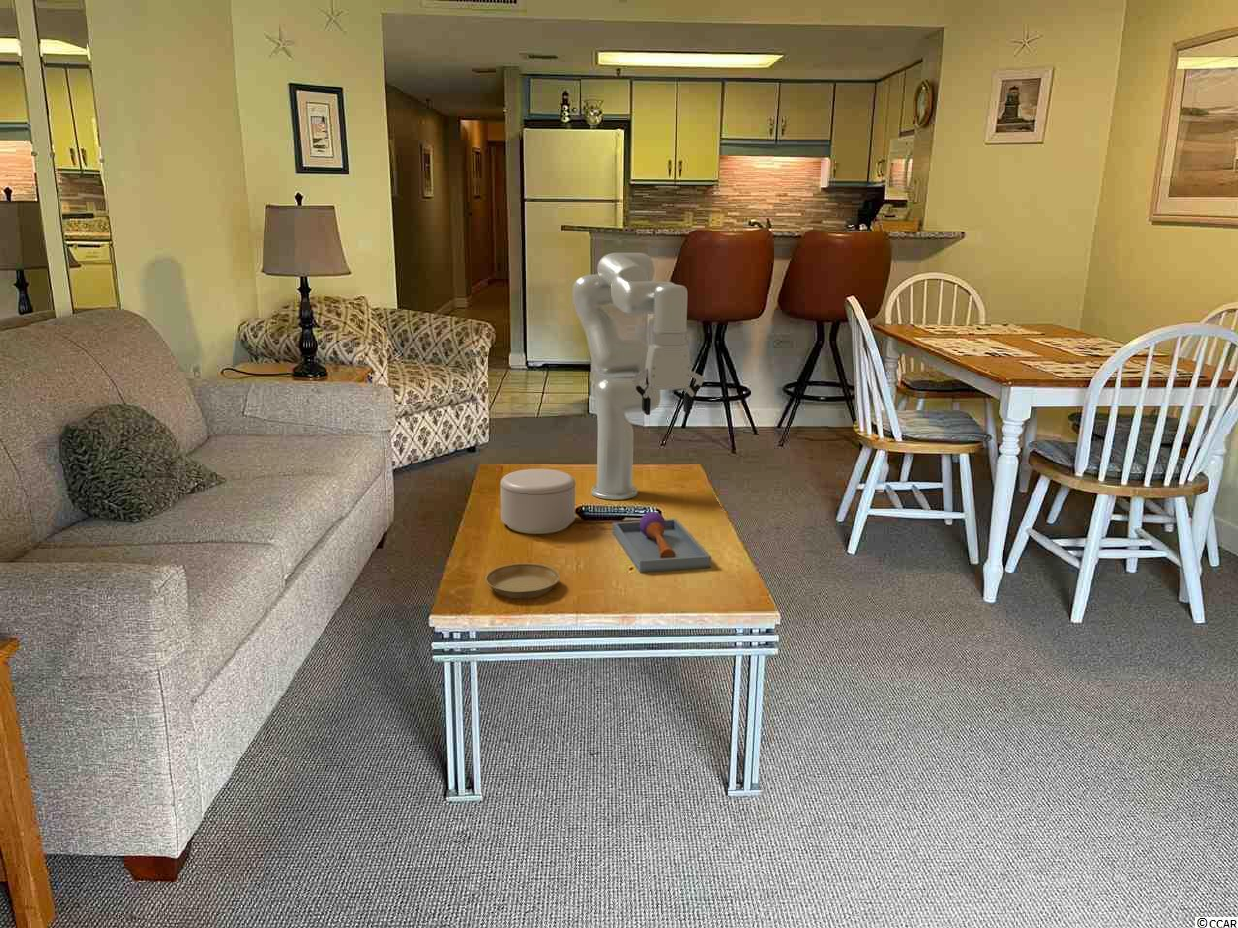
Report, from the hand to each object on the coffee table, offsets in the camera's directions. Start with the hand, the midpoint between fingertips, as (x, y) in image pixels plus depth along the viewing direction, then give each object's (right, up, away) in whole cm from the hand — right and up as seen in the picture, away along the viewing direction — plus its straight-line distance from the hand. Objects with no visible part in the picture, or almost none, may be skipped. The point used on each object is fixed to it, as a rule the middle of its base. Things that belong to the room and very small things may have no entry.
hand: (666, 413), depth 216 cm
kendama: (-2, -31, -7) cm, 32 cm away
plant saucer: (-30, -37, -29) cm, 56 cm away
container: (-31, -26, +9) cm, 42 cm away
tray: (-2, -31, -7) cm, 32 cm away
